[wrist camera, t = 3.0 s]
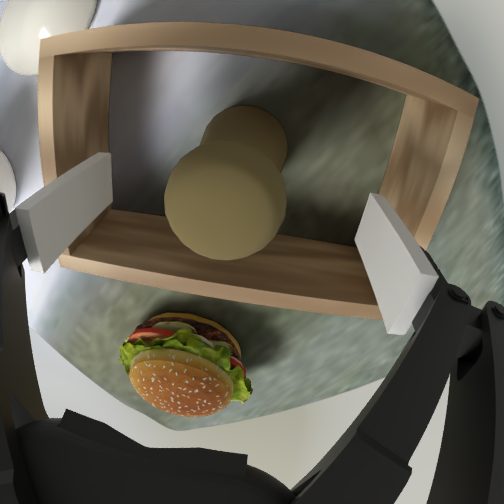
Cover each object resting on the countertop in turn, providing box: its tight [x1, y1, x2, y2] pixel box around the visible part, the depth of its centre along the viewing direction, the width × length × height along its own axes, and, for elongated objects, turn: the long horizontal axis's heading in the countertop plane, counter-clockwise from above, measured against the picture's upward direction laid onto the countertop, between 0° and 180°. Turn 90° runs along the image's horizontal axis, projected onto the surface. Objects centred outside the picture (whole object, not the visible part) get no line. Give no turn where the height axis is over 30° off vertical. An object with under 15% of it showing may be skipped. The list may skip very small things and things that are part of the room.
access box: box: [38, 22, 479, 320], centre depth 18 cm, size 15×23×7 cm, turn 82°
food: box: [120, 312, 253, 417], centre depth 30 cm, size 14×14×8 cm
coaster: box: [0, 0, 97, 76], centre depth 14 cm, size 11×11×1 cm
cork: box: [164, 105, 288, 260], centre depth 16 cm, size 6×6×11 cm
